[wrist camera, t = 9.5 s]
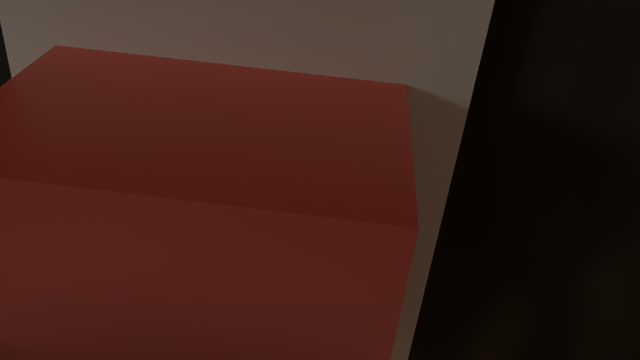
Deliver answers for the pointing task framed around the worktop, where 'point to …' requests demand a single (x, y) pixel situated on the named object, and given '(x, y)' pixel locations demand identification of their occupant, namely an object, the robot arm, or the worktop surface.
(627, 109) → the worktop surface
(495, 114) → the worktop surface
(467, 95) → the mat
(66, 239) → the red cuboid block
